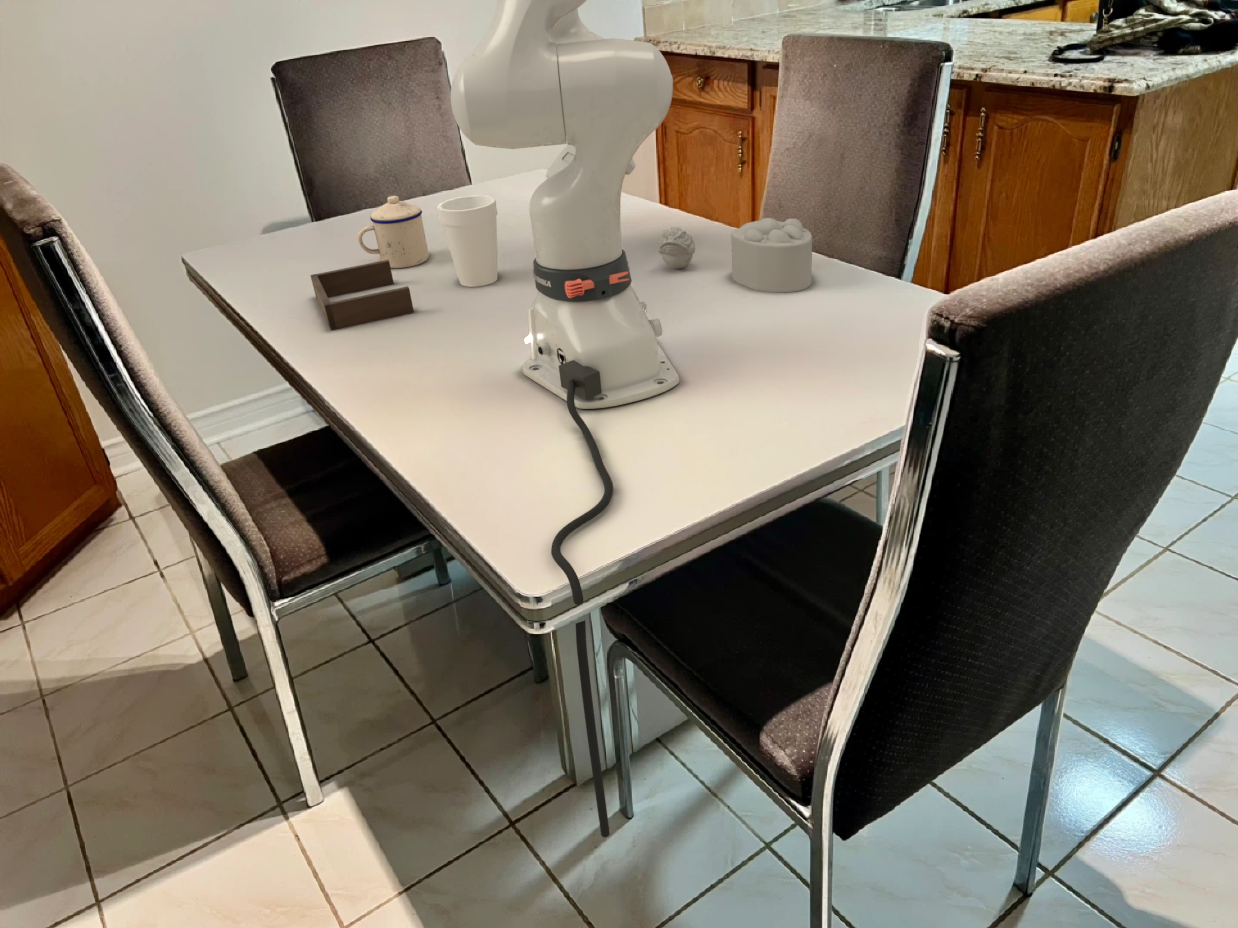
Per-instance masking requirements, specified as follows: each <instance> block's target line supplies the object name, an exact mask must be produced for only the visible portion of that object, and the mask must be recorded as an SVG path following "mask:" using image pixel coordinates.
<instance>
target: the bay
mask: <svg viewBox="0 0 1238 928" xmlns="http://www.w3.org/2000/svg"><path fill="white" fill-rule="evenodd" d="M392 272H393V271H392V268H391V267H390V263H389V260H384V261H381V260H379V261H374V262H369V263H364V264H359V265H354V266H350V267H344V268H339V269H335V270H330V271H323V272H319V273H314V274H310V280H311V283H312V287H313V291H314V295H315V298H316V301H317V303H318V305H319V307H320V310H321V312H322V314H323V316H324V319H325V322H326V323H327V326H328V329H330V331H334V330H339V329H344V328H347V327H352V326H353V327H354V326H357V325H361V324H362V325H363V324H367V323H370V322H377V321H380V320H385V319H388V318H389V319H390V318H393V317H398V316H403V315H407V314H412V313H414V312H415V311H414V310H415V309H414V305H413V301H412V296H411V290H410V287H409V285H408V286H403V287H398V288H393V289H387V290H383V291H379V292H374V293H369V294H364V295H359V296H355V297H350V298H345V299H340V300H336V301H335V300H334V301H330V299H329V298H330V297H336V296H340V295H345V294H351V293H355V292H360V291H366V290H369V289H375V288H379V287H380V288H381V287H384V286H389V285H393V284H395V282H394V278H393V273H392Z"/></svg>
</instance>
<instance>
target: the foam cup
mask: <svg viewBox="0 0 1238 928" xmlns="http://www.w3.org/2000/svg"><path fill="white" fill-rule="evenodd" d="M496 200H497V199H496V198H494V197H493V196H489V195H484V194H483V195H481V194H480V195H479V194H477V195H476V194H475V195H465V196H458V197H454V198H450V199H446V200H444V201H442V202H440V203H438V205H437V206H436V210H437V216H438V221H439V223H440V224H441V227H442V230H443V233H444V236H445V237H444V238H445V239H446V243H447V246H448V249H449V252H450V255H451V259H452V262H453V265H454V267H455V268H454V269H455V271H456V274H457V278H458V280H459V283H460V285H461V286H464V287H468V288H469V287H470V288H472V287H473V288H475V287H476V288H478V287H485V286H488V285H491V284H493V283H495V282H496V281H497V280H498V278H499V277H498V269H499V268H498V233H497V232H498V228H497V227H498V225H497V223H498V222H497V221H498V220H497V219H498V218H497V216H498V213H499V212H498V207H497V201H496Z"/></svg>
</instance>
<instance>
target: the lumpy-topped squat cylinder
mask: <svg viewBox="0 0 1238 928" xmlns="http://www.w3.org/2000/svg"><path fill="white" fill-rule="evenodd" d="M730 234H731V236H730V242H731V243H730V244H731V245H730V246H731V247H730V248H731V278H732V280H733V281H734V282H736V283H738V284H740V285H741V286H744V287H747V288H749V289H751V290H756V291H758V292H759V291H760V292H770V293H794V292H800V291H803V290H806V289H808V288H809V287H810V286H811V284H812V272H813V271H812V269H813V265H812V264H813V235H812V234H811V232H810V230H809V229H806V228H804V227H803V224H802V222H801V221H800V220H798V219H797V218H788V219H786V220H785V221H778V220H776V219H774V218H773V217H765V218H762V219H760V220H755V221H751V222H746V223H744V224H743V225H742V226H740V227H739V228H736V229H734V230H733V231H731V233H730Z"/></svg>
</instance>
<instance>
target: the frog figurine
mask: <svg viewBox="0 0 1238 928" xmlns="http://www.w3.org/2000/svg"><path fill="white" fill-rule="evenodd" d="M657 250H658V253H660V255H661V259H662V260H663V261H664V263H665V264H666V265H667V266H669V267H670V268H672V269H683V268H685V267H687V266H688V265H689V264H690V263H691V261H692V259H693V257H694V256H693V255H694V253H695V251H696V243H695V240H694V239H693V236H692V235H691V234H690V233H689V232H687V231H686V230H683V229H682V228H681V227H678V226H677V227H675V226H673V227H672V226H671V227H670V228H669V229H668V230H663V234H662V235H661V237H660V239H659V241H658V246H657Z"/></svg>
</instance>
